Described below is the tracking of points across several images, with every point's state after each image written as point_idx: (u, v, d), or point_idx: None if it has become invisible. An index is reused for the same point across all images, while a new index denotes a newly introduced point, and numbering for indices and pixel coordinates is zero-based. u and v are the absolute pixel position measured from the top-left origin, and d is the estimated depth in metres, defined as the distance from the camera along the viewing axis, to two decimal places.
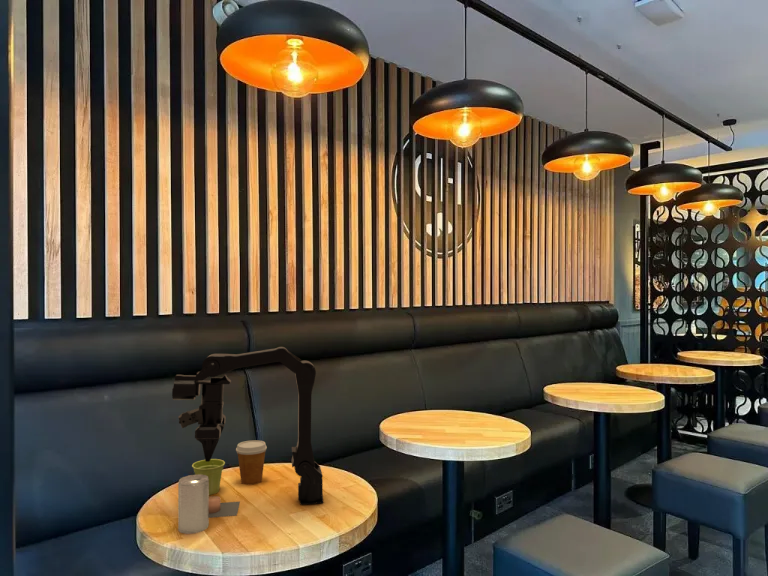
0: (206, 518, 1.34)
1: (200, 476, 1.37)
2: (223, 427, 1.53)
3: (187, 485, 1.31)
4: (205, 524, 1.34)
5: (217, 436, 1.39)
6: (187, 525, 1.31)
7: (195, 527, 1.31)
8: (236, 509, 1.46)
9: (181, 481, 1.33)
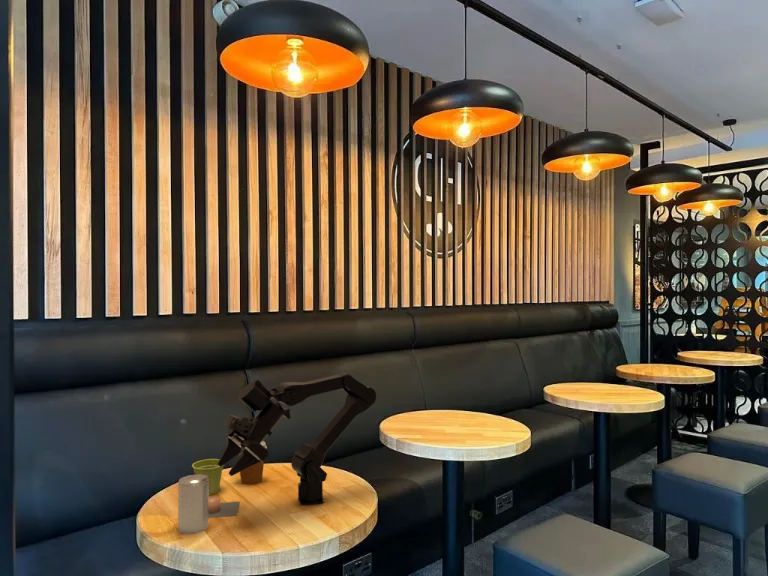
0: (206, 518, 1.34)
1: (200, 476, 1.37)
2: None
3: (187, 485, 1.31)
4: (205, 524, 1.34)
5: (264, 459, 1.36)
6: (187, 525, 1.31)
7: (195, 527, 1.31)
8: (236, 509, 1.46)
9: (181, 481, 1.33)
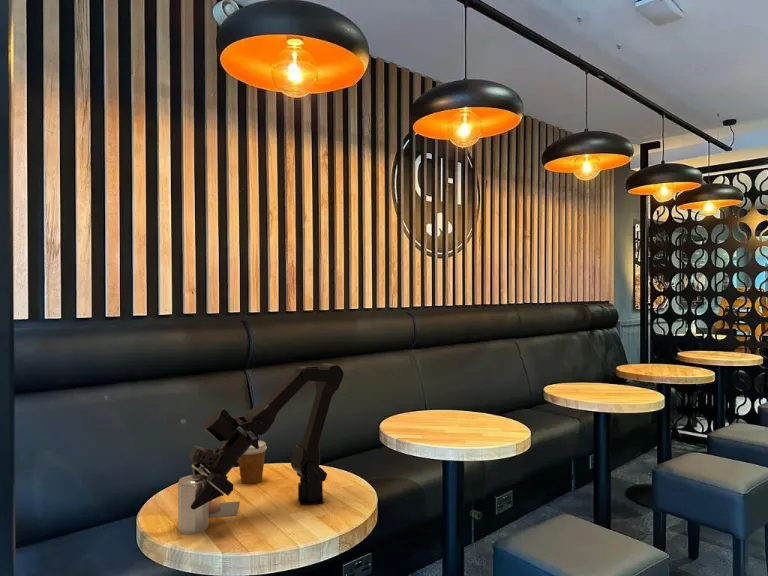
0: (206, 518, 1.34)
1: (200, 476, 1.37)
2: (210, 482, 1.41)
3: (187, 485, 1.31)
4: (205, 524, 1.34)
5: (228, 494, 1.30)
6: (187, 525, 1.31)
7: (195, 527, 1.31)
8: (236, 509, 1.46)
9: (181, 481, 1.33)
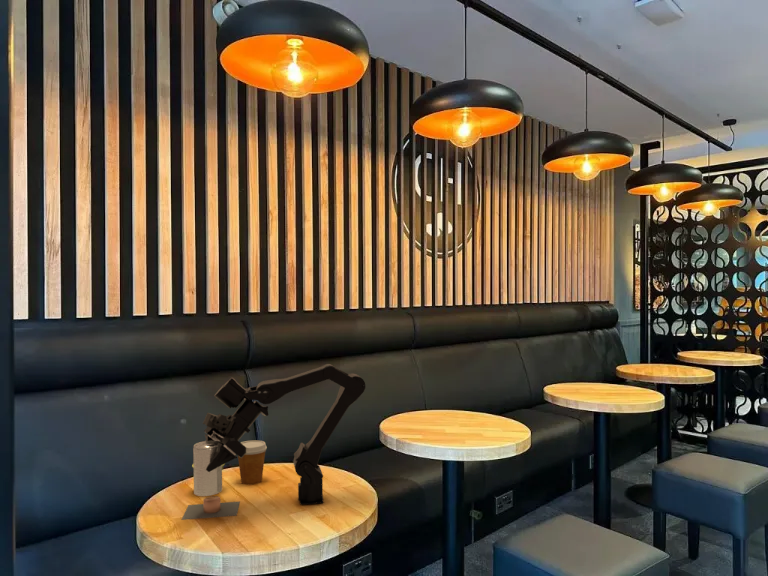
0: (220, 480, 1.42)
1: (213, 442, 1.44)
2: None
3: (202, 449, 1.39)
4: (220, 486, 1.42)
5: (242, 456, 1.39)
6: (203, 487, 1.39)
7: (210, 488, 1.39)
8: (236, 509, 1.46)
9: (195, 445, 1.41)
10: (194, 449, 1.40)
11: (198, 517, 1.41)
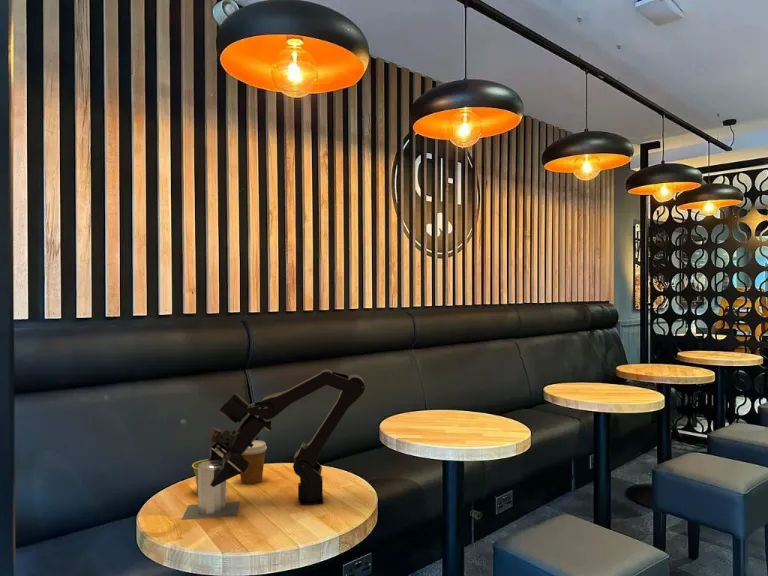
0: (224, 500, 1.45)
1: (218, 461, 1.48)
2: None
3: (206, 469, 1.42)
4: (223, 506, 1.44)
5: (244, 471, 1.41)
6: (206, 506, 1.42)
7: (214, 508, 1.42)
8: (236, 509, 1.46)
9: (200, 465, 1.44)
10: (199, 469, 1.44)
11: (198, 517, 1.41)
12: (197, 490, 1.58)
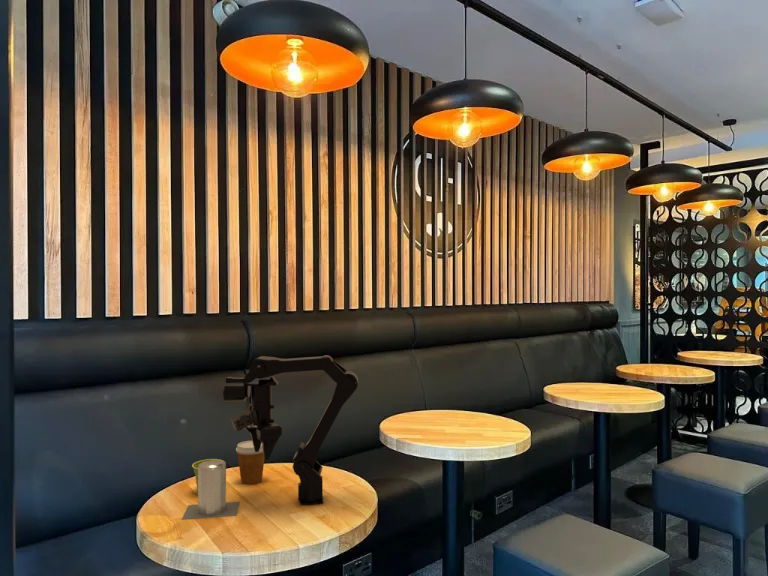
0: (224, 500, 1.45)
1: (218, 461, 1.48)
2: None
3: (206, 469, 1.42)
4: (223, 506, 1.44)
5: (281, 434, 1.46)
6: (206, 506, 1.42)
7: (214, 508, 1.42)
8: (236, 509, 1.46)
9: (200, 465, 1.44)
10: (199, 469, 1.44)
11: (198, 517, 1.41)
12: (197, 490, 1.58)
